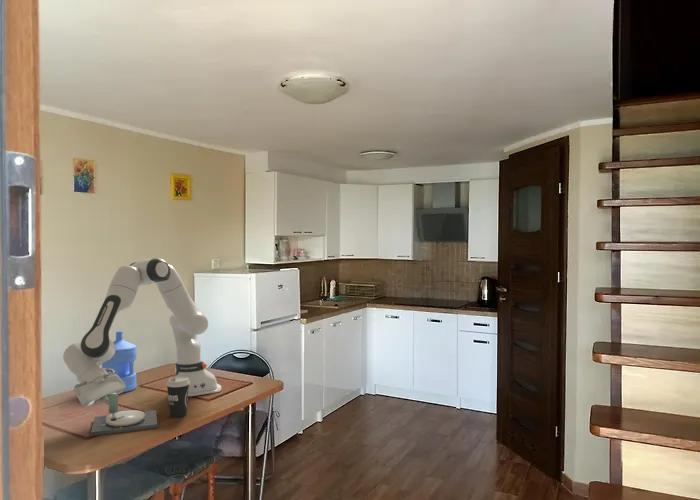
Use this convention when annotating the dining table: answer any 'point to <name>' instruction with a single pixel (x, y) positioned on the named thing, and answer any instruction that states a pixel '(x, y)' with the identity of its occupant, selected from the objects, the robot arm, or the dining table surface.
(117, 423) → the dial
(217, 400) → the dining table surface
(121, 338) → the water jug
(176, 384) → the coffee cup
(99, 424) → the dial base plate
